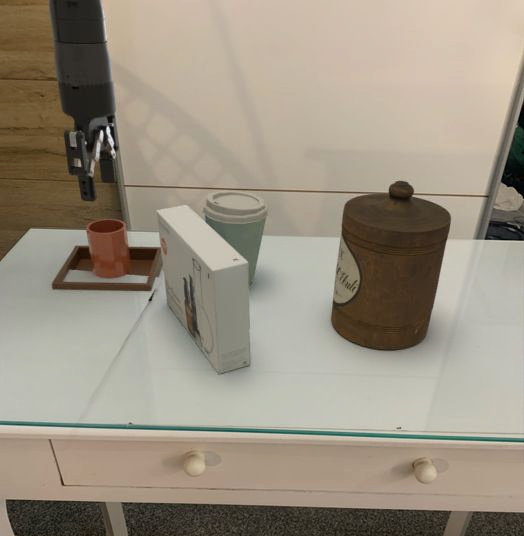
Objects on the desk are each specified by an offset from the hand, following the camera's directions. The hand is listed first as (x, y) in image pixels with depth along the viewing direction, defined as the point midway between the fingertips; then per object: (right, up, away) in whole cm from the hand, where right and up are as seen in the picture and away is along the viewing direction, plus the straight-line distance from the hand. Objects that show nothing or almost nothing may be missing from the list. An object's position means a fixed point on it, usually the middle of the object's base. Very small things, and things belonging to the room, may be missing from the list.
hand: (99, 191), depth 87 cm
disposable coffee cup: (+21, -13, +9) cm, 26 cm away
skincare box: (+17, -22, -4) cm, 28 cm away
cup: (0, -12, +8) cm, 15 cm away
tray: (0, -13, +9) cm, 15 cm away
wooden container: (+43, -21, -1) cm, 48 cm away
